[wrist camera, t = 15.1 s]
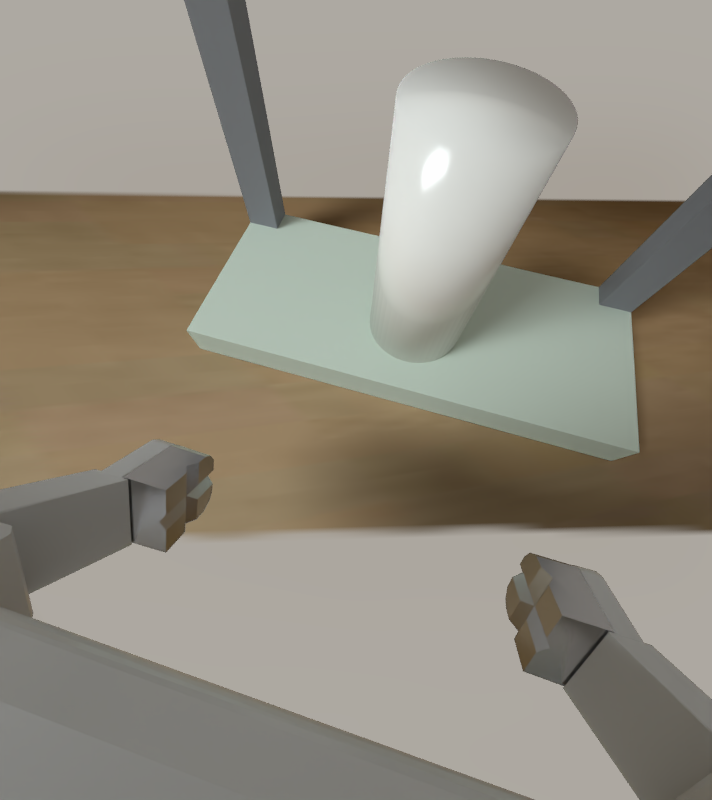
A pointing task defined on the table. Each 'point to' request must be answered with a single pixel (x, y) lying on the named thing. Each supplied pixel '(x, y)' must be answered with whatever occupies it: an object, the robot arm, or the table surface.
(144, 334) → the table surface
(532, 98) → the white cylinder
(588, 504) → the table surface
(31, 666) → the robot arm
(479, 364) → the grey frame
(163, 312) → the table surface
